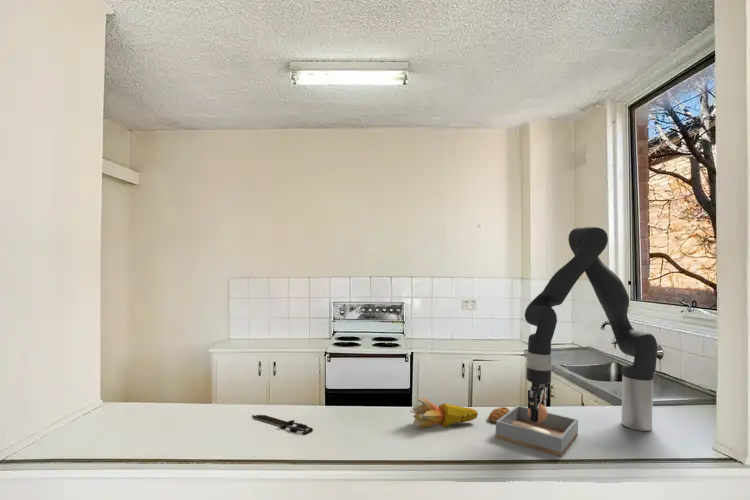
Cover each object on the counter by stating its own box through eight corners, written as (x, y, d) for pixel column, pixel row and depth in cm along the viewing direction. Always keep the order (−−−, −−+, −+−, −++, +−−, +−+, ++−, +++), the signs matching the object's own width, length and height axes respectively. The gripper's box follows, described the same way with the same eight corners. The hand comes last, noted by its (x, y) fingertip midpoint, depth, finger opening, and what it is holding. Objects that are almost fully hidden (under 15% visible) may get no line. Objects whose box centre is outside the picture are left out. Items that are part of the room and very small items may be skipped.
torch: (475, 434, 150) (409, 431, 142) (467, 416, 157) (403, 412, 149) (484, 417, 146) (417, 413, 139) (475, 399, 153) (410, 395, 146)
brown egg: (530, 416, 145) (531, 398, 145) (549, 421, 141) (550, 403, 141) (524, 422, 140) (525, 403, 140) (544, 427, 136) (544, 407, 136)
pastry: (500, 426, 149) (500, 415, 149) (483, 421, 153) (483, 410, 153) (513, 419, 155) (513, 409, 155) (496, 414, 160) (496, 404, 160)
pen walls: (517, 416, 154) (517, 405, 155) (577, 431, 142) (578, 419, 142) (495, 433, 139) (495, 421, 139) (561, 452, 126) (561, 438, 126)
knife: (248, 418, 149) (248, 414, 149) (263, 413, 155) (263, 409, 155) (300, 438, 135) (301, 433, 135) (315, 431, 140) (315, 427, 140)
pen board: (517, 419, 154) (517, 416, 154) (577, 435, 142) (577, 431, 142) (495, 437, 139) (495, 433, 139) (561, 456, 126) (561, 451, 126)
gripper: (544, 373, 133) (542, 428, 133) (557, 364, 144) (555, 415, 144) (519, 368, 137) (518, 421, 137) (534, 360, 149) (532, 410, 148)
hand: (537, 418), depth 141 cm, fingers closed on brown egg, 6 cm apart
